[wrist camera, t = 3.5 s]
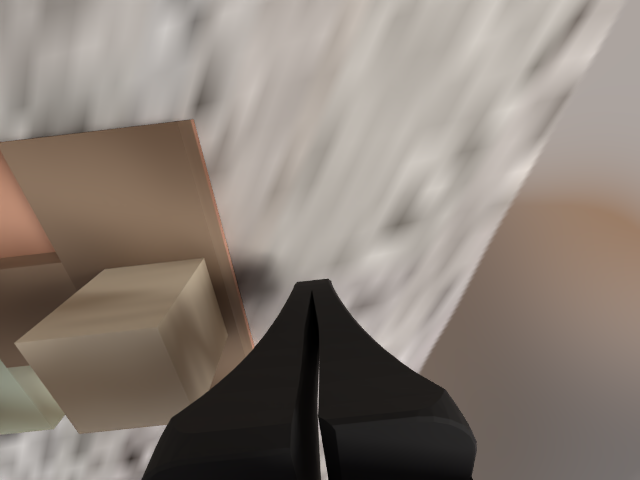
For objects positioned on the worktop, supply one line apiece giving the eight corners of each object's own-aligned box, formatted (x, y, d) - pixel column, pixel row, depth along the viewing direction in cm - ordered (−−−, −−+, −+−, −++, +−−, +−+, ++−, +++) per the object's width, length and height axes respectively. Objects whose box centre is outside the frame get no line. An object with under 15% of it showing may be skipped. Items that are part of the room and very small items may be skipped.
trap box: (263, 382, 17) (249, 471, 13) (5, 410, 17) (-90, 507, 13) (193, 119, 11) (125, 128, 7) (-200, 165, 11) (-493, 202, 7)
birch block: (227, 335, 13) (198, 421, 10) (141, 344, 13) (79, 433, 10) (203, 257, 12) (157, 327, 8) (104, 269, 12) (14, 343, 8)
